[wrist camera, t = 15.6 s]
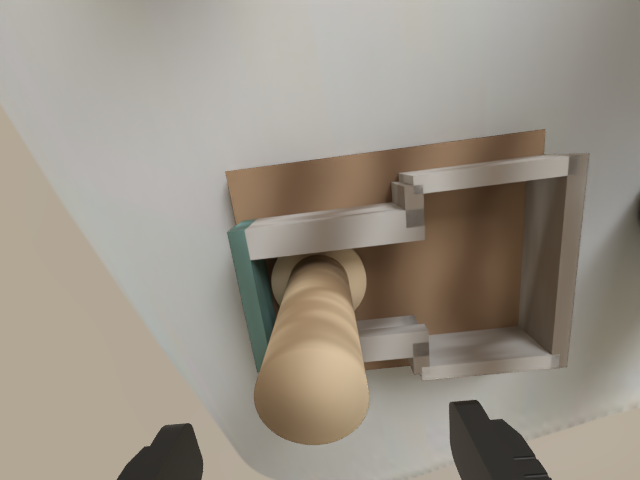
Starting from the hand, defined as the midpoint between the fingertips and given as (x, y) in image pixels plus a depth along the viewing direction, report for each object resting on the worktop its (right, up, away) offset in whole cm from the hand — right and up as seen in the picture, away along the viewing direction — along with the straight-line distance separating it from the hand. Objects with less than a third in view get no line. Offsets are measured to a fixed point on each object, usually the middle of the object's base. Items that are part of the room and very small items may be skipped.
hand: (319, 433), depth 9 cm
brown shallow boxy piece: (+5, +4, +13) cm, 14 cm away
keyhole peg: (0, +3, +12) cm, 12 cm away
